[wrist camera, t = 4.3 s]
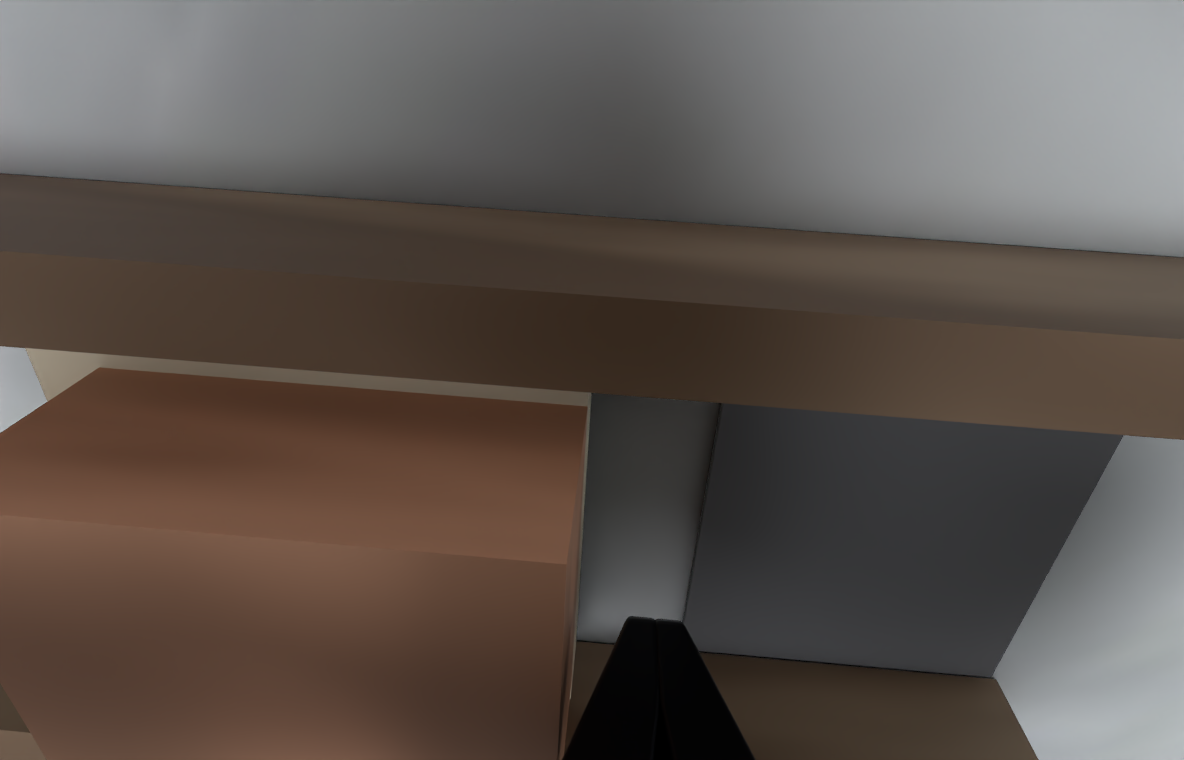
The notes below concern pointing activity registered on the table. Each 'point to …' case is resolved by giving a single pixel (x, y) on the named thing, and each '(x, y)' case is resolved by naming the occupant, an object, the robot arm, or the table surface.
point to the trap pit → (881, 535)
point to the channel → (622, 356)
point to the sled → (289, 563)
